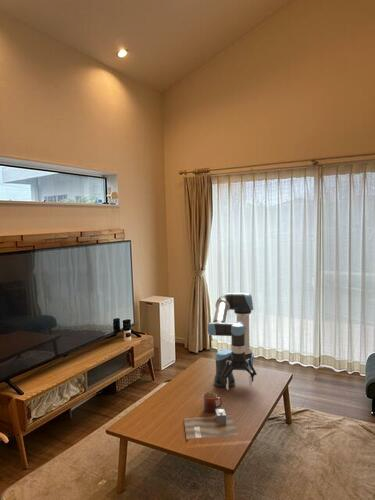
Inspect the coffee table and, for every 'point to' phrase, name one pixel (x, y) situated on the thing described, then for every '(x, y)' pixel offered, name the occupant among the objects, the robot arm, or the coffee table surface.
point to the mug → (210, 402)
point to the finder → (220, 416)
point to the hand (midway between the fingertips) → (239, 387)
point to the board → (208, 427)
